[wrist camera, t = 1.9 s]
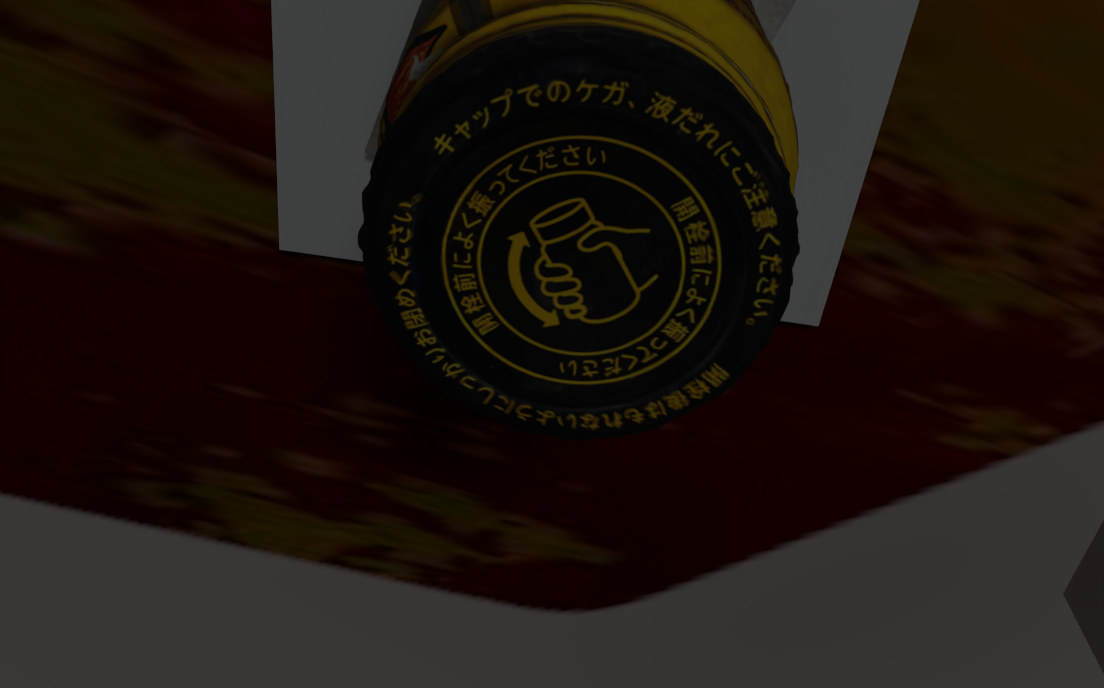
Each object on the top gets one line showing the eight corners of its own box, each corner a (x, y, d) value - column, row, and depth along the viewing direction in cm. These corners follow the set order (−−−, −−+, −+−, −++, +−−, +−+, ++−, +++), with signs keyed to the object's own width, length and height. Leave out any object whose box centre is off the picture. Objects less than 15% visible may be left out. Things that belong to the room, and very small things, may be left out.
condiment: (825, -52, 20) (1012, 155, 10) (636, 270, 25) (635, 644, 14) (506, -223, 19) (355, -184, 9) (366, 147, 23) (156, 458, 13)
